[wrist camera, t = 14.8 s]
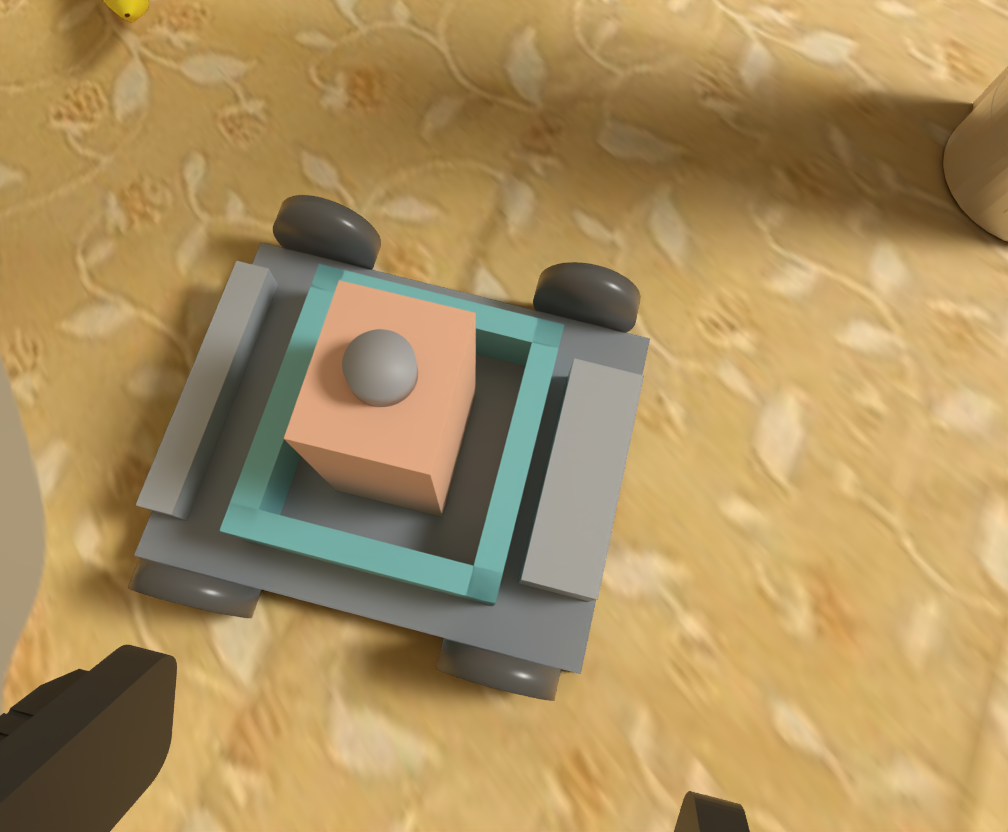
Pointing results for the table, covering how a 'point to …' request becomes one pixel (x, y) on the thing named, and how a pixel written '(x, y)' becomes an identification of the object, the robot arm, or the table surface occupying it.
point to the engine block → (387, 397)
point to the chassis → (386, 527)
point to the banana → (128, 8)
